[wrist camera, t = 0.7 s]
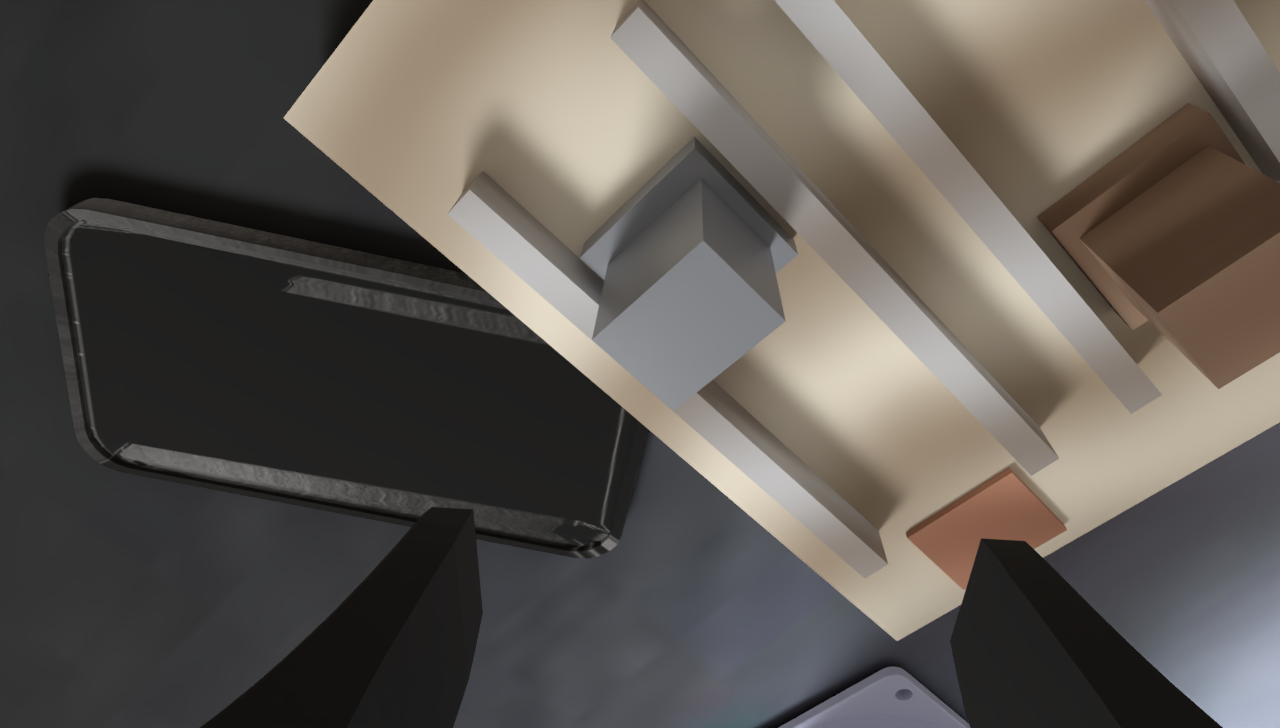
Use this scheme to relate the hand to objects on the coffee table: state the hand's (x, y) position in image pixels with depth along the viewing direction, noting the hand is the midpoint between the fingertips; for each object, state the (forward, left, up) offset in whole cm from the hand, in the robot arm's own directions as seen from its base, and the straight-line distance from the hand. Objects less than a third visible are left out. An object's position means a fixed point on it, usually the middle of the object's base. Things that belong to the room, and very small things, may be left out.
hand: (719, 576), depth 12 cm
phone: (+4, +8, -10) cm, 14 cm away
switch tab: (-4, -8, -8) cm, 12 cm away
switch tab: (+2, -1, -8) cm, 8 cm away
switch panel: (-1, -5, -10) cm, 11 cm away
